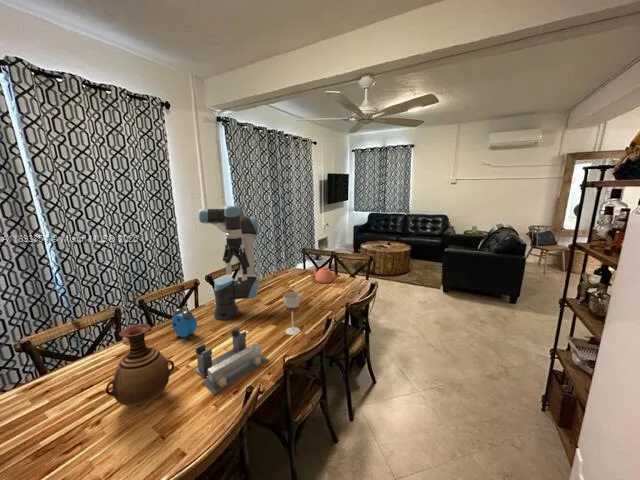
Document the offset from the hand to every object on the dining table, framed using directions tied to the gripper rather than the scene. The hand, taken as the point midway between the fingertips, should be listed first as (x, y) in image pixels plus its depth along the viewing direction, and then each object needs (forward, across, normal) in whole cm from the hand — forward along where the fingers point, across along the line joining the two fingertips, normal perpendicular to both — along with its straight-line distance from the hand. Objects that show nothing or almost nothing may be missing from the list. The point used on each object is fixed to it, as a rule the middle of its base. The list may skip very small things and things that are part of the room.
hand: (236, 277), depth 142 cm
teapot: (+35, -20, +97) cm, 105 cm away
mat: (+35, +22, -17) cm, 44 cm away
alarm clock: (+35, -26, -18) cm, 47 cm away
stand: (+35, +11, -17) cm, 40 cm away
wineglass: (+35, +17, +23) cm, 45 cm away
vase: (+35, +8, -49) cm, 61 cm away
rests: (+35, +22, -17) cm, 44 cm away
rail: (+32, +22, -17) cm, 42 cm away
